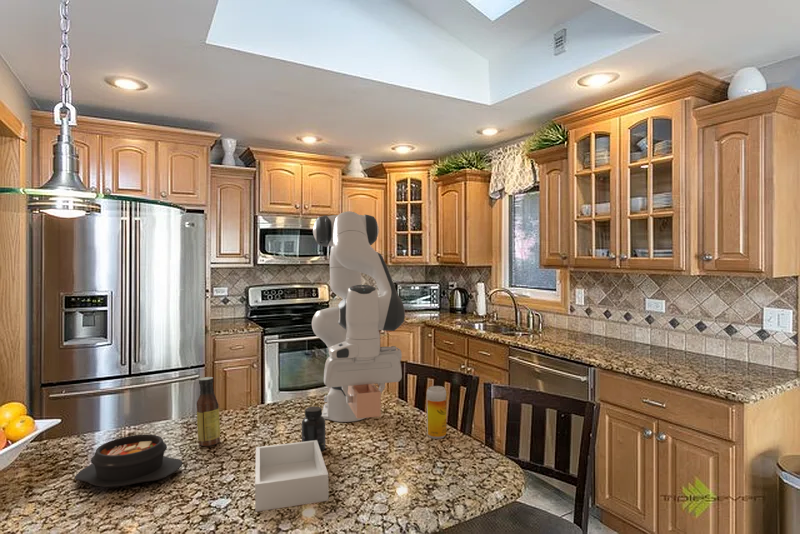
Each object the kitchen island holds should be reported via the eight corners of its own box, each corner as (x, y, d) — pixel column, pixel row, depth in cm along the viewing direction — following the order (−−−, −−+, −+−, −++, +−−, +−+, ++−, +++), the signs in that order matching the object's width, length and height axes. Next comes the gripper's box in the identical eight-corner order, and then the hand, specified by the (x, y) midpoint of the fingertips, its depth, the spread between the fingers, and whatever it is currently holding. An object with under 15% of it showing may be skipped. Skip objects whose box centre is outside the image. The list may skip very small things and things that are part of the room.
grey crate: (256, 469, 124) (255, 447, 124) (317, 461, 129) (317, 440, 129) (255, 511, 103) (255, 484, 103) (328, 500, 108) (328, 474, 108)
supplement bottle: (296, 451, 136) (296, 410, 136) (311, 443, 142) (311, 404, 142) (315, 456, 133) (315, 413, 133) (330, 447, 139) (329, 407, 139)
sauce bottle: (223, 439, 146) (223, 375, 146) (214, 447, 140) (213, 380, 140) (203, 439, 147) (202, 375, 147) (193, 447, 141) (192, 380, 140)
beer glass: (447, 439, 144) (446, 390, 144) (427, 439, 144) (426, 390, 144) (445, 432, 150) (445, 385, 150) (426, 432, 150) (426, 385, 150)
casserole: (55, 494, 112) (55, 459, 112) (105, 461, 131) (105, 431, 131) (159, 494, 112) (159, 459, 112) (195, 461, 130) (194, 431, 130)
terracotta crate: (347, 403, 128) (347, 381, 128) (369, 401, 129) (369, 379, 129) (357, 418, 115) (356, 394, 115) (380, 416, 117) (380, 392, 117)
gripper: (398, 343, 128) (398, 394, 128) (322, 348, 122) (323, 401, 123) (404, 347, 122) (405, 400, 122) (325, 352, 116) (326, 408, 117)
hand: (363, 401), depth 122 cm, fingers closed on terracotta crate, 6 cm apart
